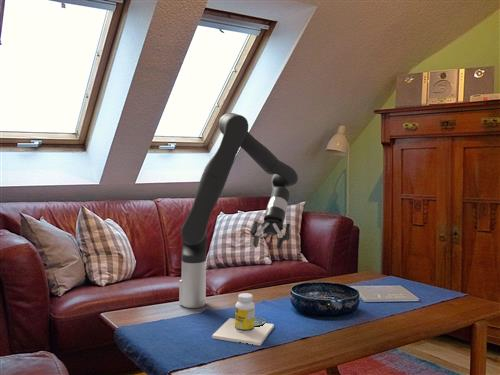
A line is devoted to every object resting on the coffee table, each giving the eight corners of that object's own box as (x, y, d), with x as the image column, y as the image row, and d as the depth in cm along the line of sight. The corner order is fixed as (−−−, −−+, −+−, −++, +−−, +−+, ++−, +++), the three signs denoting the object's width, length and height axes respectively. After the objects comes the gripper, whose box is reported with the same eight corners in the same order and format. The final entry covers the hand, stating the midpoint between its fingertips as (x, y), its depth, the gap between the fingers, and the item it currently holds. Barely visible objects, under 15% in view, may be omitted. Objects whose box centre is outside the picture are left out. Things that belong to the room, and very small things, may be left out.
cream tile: (212, 338, 156) (212, 335, 156) (229, 320, 171) (229, 318, 171) (260, 345, 151) (260, 342, 151) (273, 327, 166) (273, 324, 166)
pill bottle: (232, 326, 163) (232, 293, 162) (250, 324, 165) (251, 291, 164) (238, 334, 157) (239, 299, 156) (257, 331, 159) (258, 297, 158)
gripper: (256, 204, 185) (245, 240, 175) (292, 206, 180) (284, 243, 171) (260, 216, 190) (250, 251, 181) (295, 218, 186) (287, 255, 176)
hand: (266, 247), depth 176 cm, fingers open, 8 cm apart
